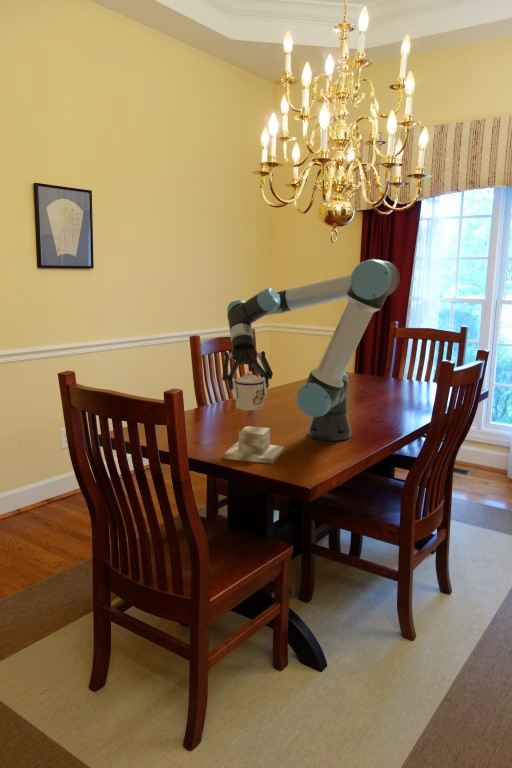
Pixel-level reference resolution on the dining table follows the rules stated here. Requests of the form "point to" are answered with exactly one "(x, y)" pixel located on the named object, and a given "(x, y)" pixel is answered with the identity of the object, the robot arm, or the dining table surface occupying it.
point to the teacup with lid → (249, 392)
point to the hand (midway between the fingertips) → (250, 396)
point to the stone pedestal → (254, 446)
